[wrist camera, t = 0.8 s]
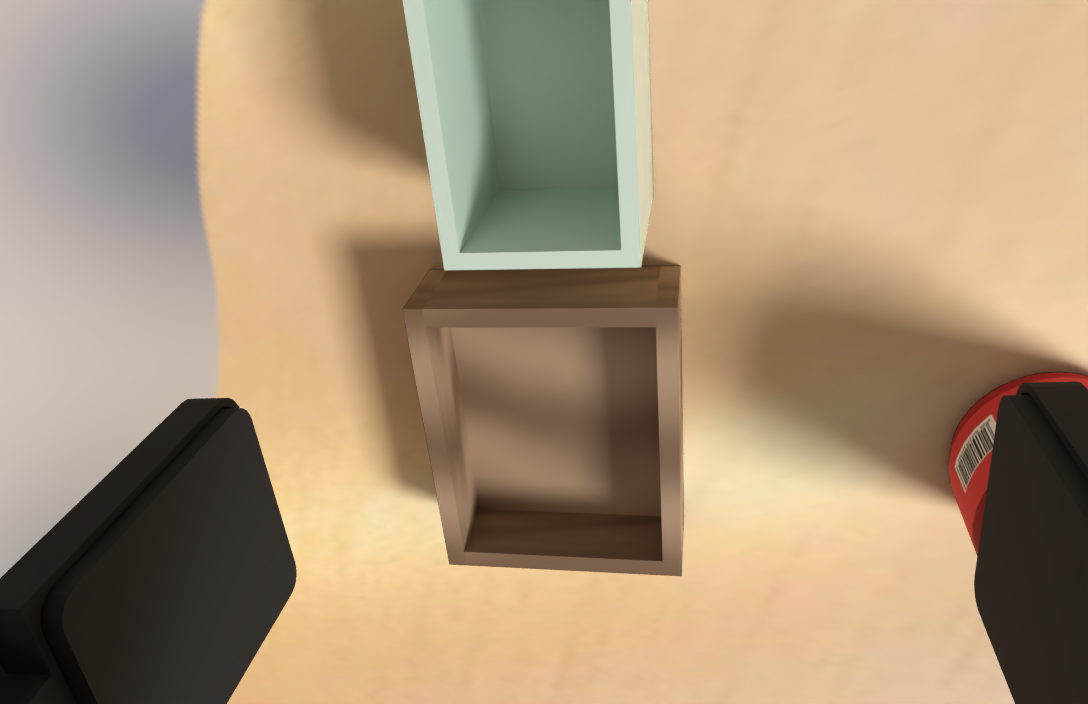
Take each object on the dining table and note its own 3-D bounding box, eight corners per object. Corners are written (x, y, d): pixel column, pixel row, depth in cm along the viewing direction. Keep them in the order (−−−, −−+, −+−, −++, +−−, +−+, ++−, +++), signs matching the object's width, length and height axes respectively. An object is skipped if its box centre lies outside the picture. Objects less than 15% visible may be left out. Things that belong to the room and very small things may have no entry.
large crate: (429, 269, 37) (402, 309, 33) (680, 265, 35) (677, 307, 32) (469, 510, 43) (449, 564, 40) (683, 519, 41) (681, 576, 38)
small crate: (460, -46, 30) (398, -24, 24) (646, -62, 29) (629, -42, 23) (490, 199, 35) (444, 270, 29) (653, 194, 34) (641, 267, 28)
